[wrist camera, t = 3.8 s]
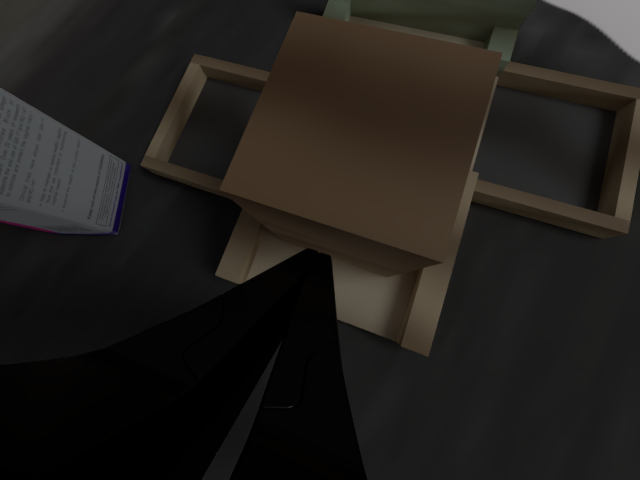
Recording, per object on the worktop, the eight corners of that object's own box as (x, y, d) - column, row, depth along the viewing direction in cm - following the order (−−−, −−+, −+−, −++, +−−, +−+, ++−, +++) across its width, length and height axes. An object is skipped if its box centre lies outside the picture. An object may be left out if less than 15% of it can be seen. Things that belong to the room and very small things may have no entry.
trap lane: (570, 405, 15) (652, 448, 11) (125, 236, 19) (68, 223, 15) (634, 68, 18) (715, 6, 14) (242, -9, 22) (221, -72, 18)
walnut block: (388, 277, 16) (443, 262, 7) (283, 241, 17) (219, 189, 8) (419, 175, 17) (502, 52, 8) (319, 147, 18) (296, 11, 9)
